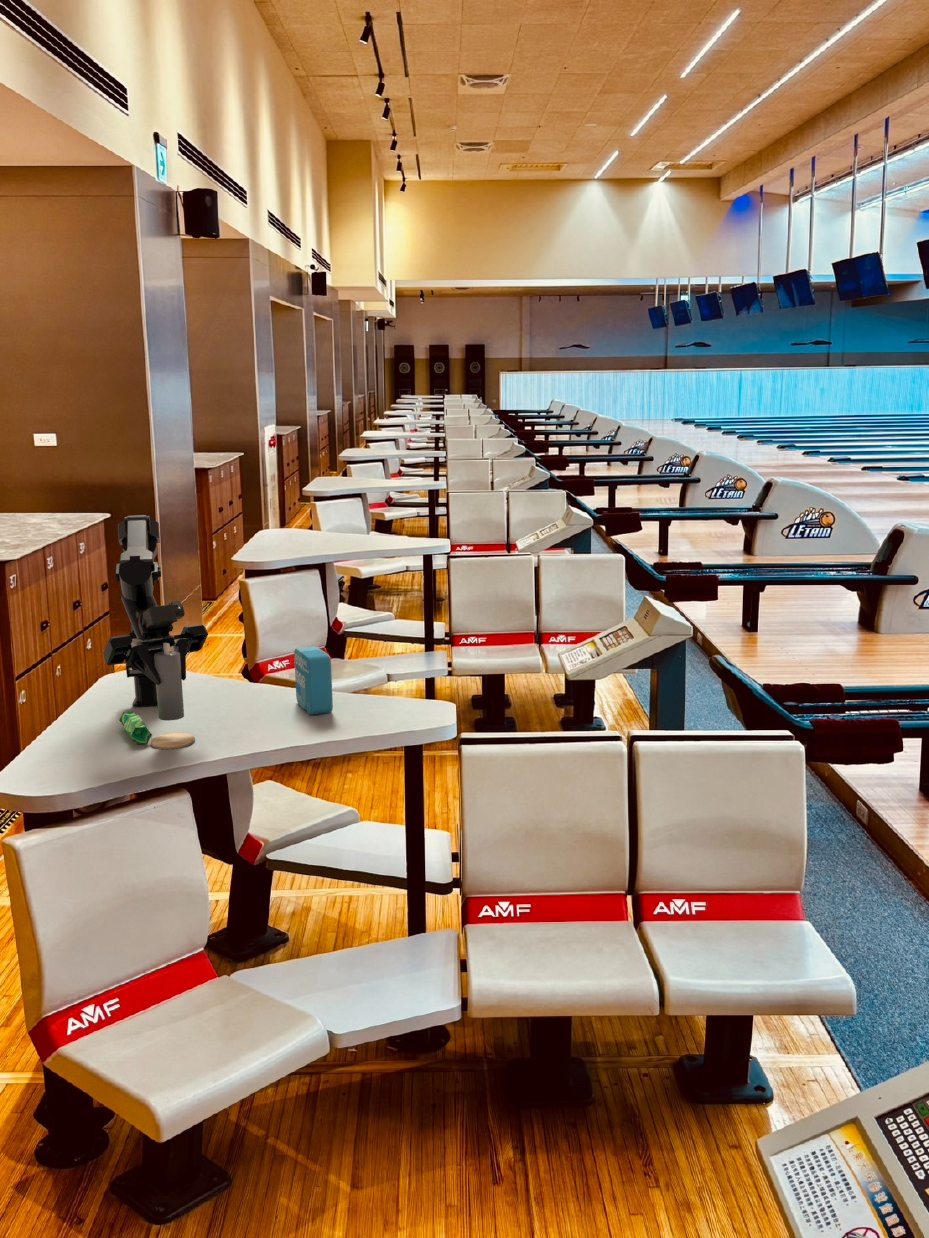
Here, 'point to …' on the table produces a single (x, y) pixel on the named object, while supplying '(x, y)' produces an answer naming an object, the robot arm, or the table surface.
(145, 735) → the candy
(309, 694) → the data package
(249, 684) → the table surface
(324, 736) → the table surface
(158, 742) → the cork coaster
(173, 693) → the charcoal plug
